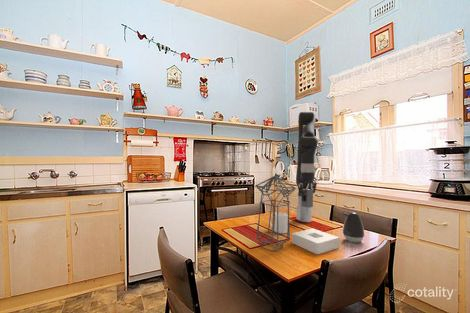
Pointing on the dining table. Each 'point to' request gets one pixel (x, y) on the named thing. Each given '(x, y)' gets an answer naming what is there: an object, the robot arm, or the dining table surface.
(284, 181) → the geometric lantern
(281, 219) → the mug
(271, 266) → the dining table surface
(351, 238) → the dark grey rounded cone
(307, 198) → the plug
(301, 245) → the socket block
